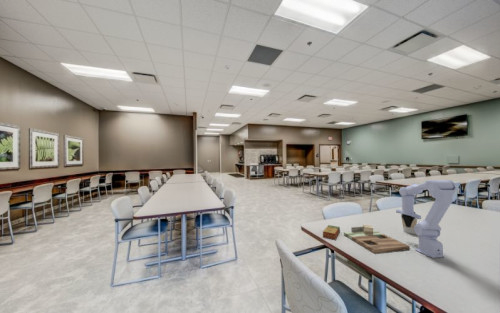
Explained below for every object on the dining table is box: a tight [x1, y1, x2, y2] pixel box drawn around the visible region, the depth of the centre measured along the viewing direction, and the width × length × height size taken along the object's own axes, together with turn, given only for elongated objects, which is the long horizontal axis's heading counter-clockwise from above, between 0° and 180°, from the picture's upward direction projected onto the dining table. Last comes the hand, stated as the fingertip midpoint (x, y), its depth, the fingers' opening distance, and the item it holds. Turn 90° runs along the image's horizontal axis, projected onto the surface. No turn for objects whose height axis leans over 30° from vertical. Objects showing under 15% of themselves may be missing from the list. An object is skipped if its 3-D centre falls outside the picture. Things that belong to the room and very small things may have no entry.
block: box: [362, 224, 374, 235], centre depth 128 cm, size 5×5×5 cm
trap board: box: [343, 225, 411, 254], centre depth 120 cm, size 26×24×5 cm
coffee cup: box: [401, 211, 418, 235], centre depth 135 cm, size 9×9×15 cm
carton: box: [322, 224, 341, 240], centre depth 133 cm, size 8×16×4 cm, turn 144°
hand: (408, 226), depth 120 cm, fingers closed
